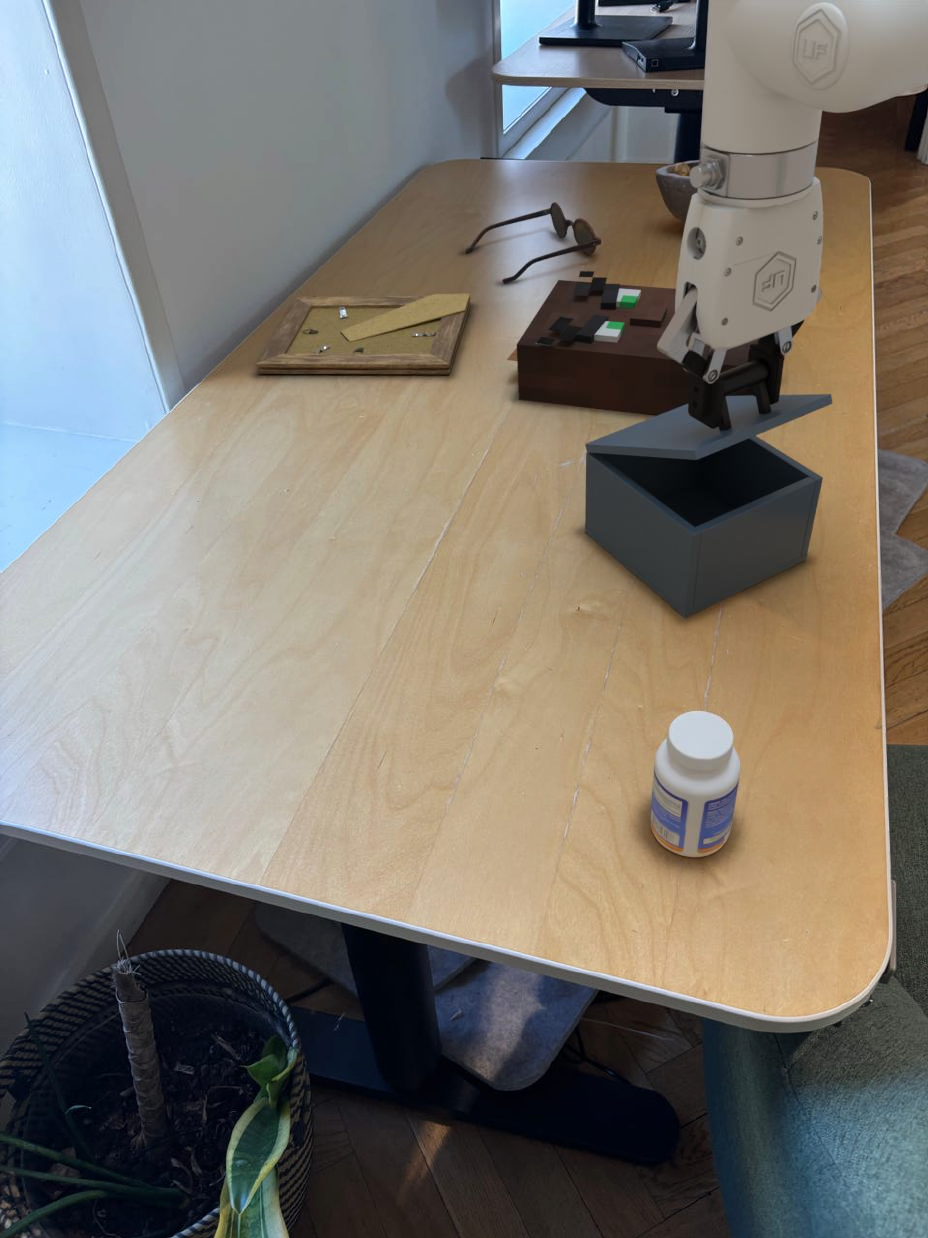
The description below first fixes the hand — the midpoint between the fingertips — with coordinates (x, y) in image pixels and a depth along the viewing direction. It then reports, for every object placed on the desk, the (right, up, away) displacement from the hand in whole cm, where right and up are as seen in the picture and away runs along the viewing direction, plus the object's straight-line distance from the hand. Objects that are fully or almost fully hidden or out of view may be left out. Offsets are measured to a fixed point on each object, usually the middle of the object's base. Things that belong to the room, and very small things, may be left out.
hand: (733, 406), depth 78 cm
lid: (-1, -1, +4) cm, 5 cm away
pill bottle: (-6, -31, -10) cm, 33 cm away
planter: (+17, +40, +66) cm, 79 cm away
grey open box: (0, -10, +13) cm, 16 cm away
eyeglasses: (-12, +35, +64) cm, 74 cm away
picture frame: (-33, +19, +48) cm, 61 cm away
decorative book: (0, +11, +36) cm, 38 cm away
